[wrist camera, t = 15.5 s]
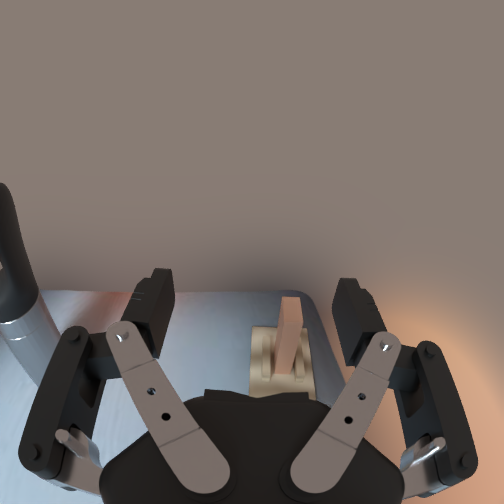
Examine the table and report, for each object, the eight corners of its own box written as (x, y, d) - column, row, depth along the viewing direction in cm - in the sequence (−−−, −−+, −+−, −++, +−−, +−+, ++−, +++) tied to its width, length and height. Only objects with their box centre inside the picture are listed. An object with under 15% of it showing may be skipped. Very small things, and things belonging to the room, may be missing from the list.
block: (290, 374, 42) (303, 322, 36) (274, 374, 42) (284, 321, 36) (288, 350, 47) (299, 297, 40) (273, 350, 47) (282, 296, 40)
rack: (314, 407, 38) (319, 397, 36) (248, 406, 38) (249, 396, 36) (305, 332, 52) (308, 320, 50) (251, 330, 52) (252, 318, 50)
